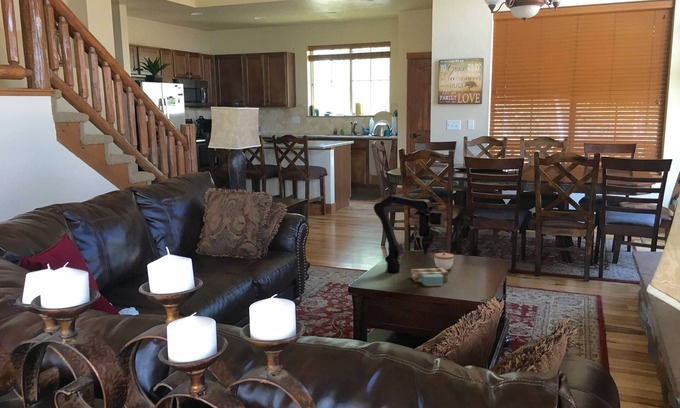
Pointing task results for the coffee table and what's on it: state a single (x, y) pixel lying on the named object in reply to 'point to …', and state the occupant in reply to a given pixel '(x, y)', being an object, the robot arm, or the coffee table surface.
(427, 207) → the robot arm
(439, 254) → the lidded jar
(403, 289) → the coffee table surface
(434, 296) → the coffee table surface
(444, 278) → the wooden tray
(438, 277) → the light blue rectangular block
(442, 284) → the mat
